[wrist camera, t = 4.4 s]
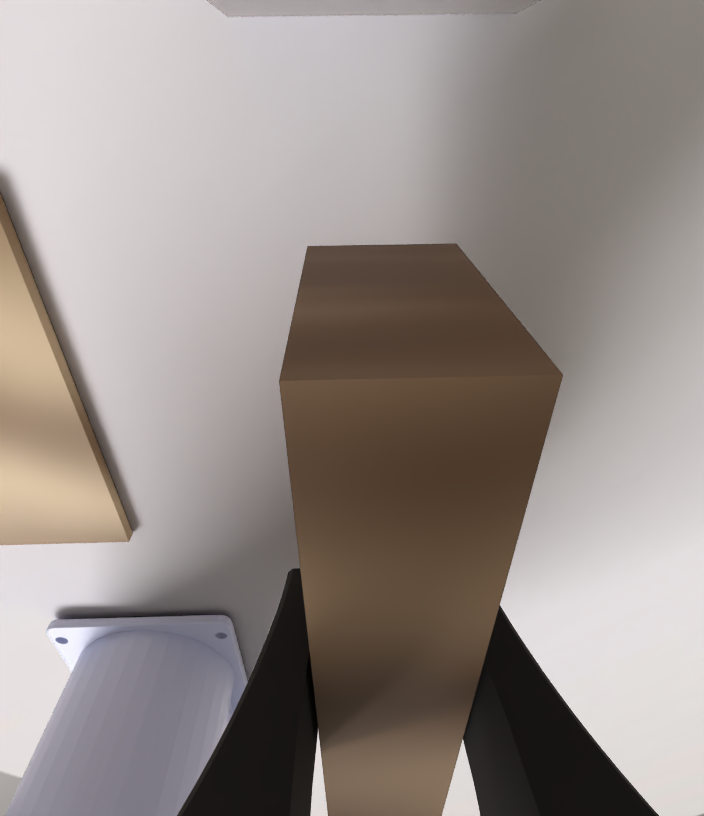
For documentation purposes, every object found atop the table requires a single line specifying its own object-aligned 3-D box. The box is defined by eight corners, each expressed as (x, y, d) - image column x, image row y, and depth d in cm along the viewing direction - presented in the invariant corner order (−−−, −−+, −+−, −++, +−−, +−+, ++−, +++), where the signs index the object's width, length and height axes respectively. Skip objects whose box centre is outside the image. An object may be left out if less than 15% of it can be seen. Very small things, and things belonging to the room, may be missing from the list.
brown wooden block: (411, 649, 17) (435, 834, 12) (332, 651, 16) (330, 838, 12) (456, 243, 9) (562, 375, 5) (307, 246, 9) (279, 380, 5)
